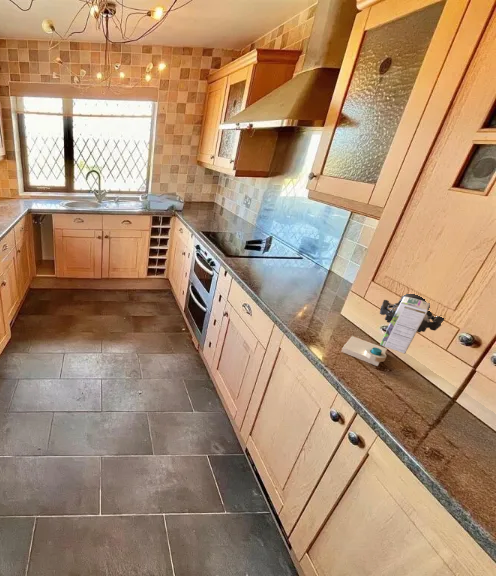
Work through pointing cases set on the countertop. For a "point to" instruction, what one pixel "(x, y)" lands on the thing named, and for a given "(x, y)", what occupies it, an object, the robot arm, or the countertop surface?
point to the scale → (364, 350)
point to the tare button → (376, 351)
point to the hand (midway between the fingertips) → (404, 324)
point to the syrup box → (405, 324)
